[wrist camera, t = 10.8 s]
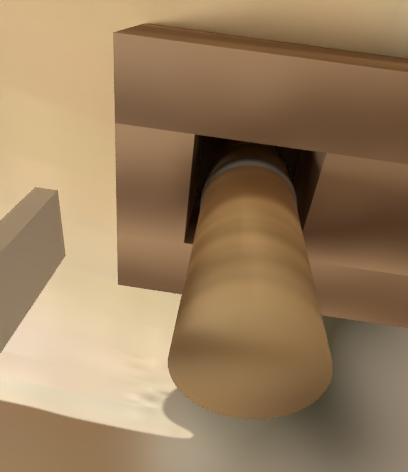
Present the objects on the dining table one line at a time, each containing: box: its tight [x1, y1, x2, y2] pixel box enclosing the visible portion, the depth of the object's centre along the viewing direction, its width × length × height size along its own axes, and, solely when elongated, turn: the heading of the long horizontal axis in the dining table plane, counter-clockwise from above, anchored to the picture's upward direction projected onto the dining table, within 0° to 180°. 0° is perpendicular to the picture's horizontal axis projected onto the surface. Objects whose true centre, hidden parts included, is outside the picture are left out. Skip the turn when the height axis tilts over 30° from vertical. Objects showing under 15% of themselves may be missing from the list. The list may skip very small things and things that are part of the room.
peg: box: [168, 139, 333, 419], centre depth 15 cm, size 4×4×14 cm
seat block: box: [113, 24, 408, 328], centre depth 19 cm, size 12×18×5 cm, turn 84°
